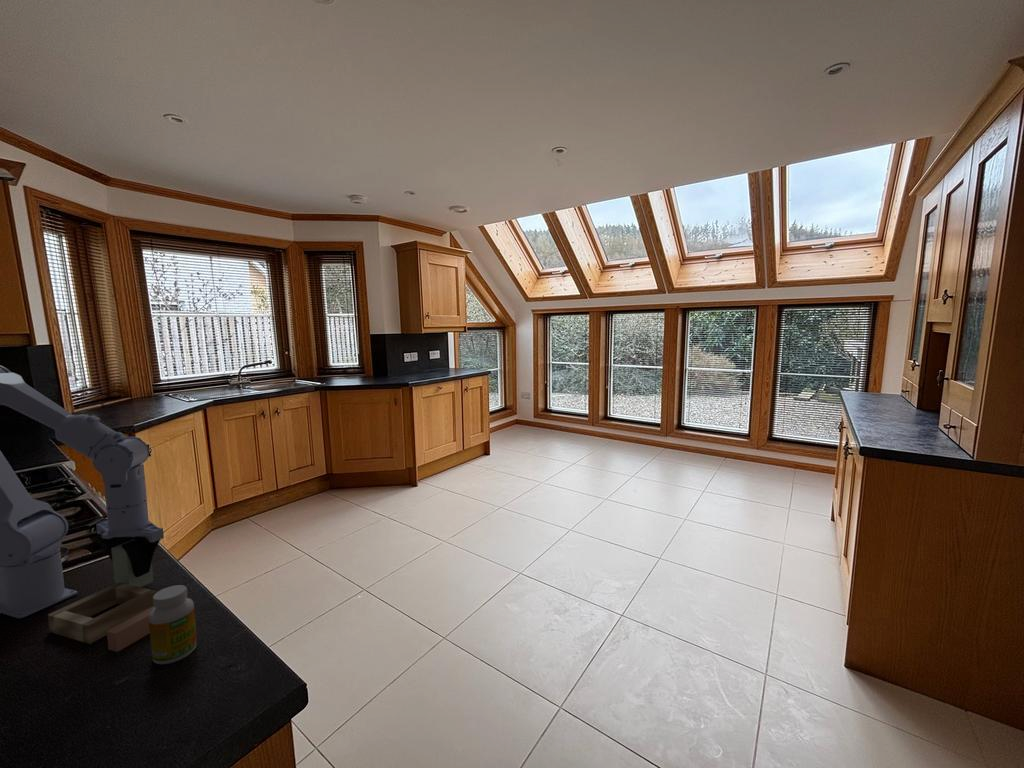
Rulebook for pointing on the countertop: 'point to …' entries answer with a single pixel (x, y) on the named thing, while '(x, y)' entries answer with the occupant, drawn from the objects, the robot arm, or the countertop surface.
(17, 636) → the countertop surface
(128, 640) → the stop wall
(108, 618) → the collar block
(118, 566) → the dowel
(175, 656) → the supplement bottle
